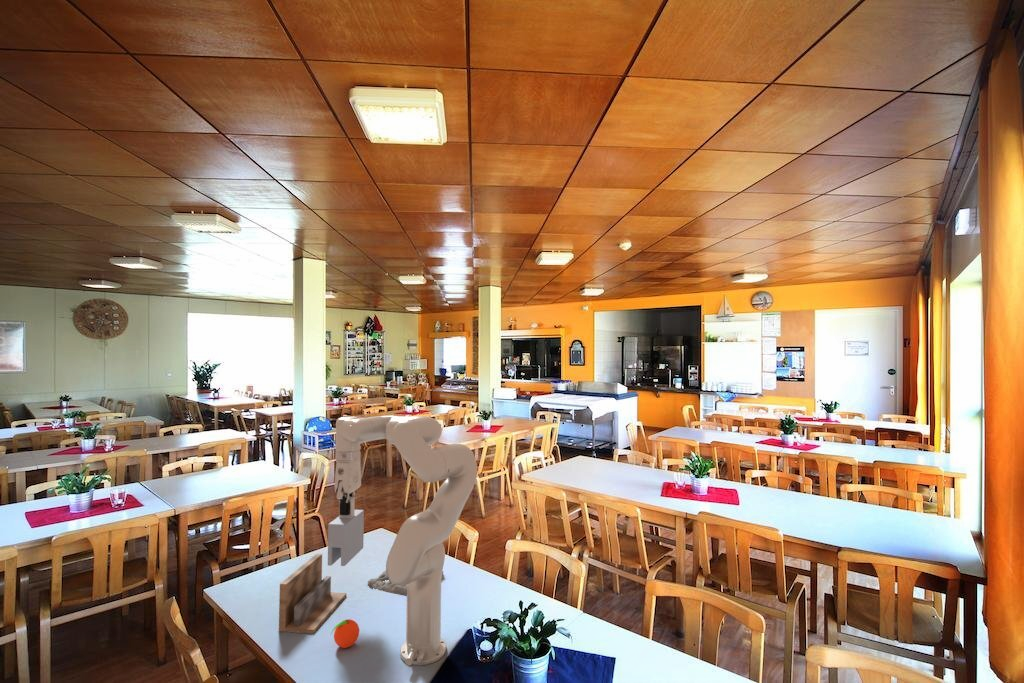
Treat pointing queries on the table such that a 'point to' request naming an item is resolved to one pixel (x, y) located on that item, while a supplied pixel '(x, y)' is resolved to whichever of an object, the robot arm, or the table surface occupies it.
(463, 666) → the table surface
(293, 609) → the wooden stand
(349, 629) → the clementine
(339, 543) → the white box with handle
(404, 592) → the wall plaque
